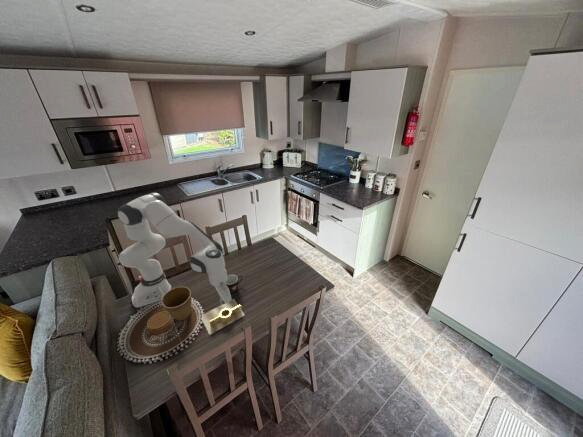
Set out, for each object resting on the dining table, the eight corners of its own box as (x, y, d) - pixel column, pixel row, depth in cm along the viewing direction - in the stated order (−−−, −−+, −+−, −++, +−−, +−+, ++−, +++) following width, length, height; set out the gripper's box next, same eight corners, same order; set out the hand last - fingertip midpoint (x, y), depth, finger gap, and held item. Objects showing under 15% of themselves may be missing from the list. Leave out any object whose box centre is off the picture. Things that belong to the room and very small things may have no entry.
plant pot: (187, 301, 148) (182, 282, 140) (201, 314, 139) (195, 295, 131) (164, 317, 138) (156, 298, 130) (177, 332, 129) (169, 312, 121)
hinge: (213, 331, 129) (211, 325, 126) (208, 323, 133) (207, 317, 130) (243, 314, 138) (242, 308, 136) (238, 307, 143) (238, 301, 140)
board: (209, 336, 127) (209, 335, 127) (200, 317, 138) (200, 315, 137) (245, 316, 138) (244, 315, 138) (234, 299, 149) (233, 298, 148)
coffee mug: (226, 297, 151) (224, 285, 146) (225, 287, 158) (223, 276, 153) (244, 293, 153) (243, 281, 148) (243, 283, 161) (241, 272, 156)
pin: (221, 305, 127) (219, 294, 123) (219, 301, 129) (217, 291, 125) (227, 302, 129) (225, 292, 125) (225, 299, 131) (223, 288, 127)
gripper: (232, 286, 114) (236, 306, 121) (216, 264, 128) (220, 283, 135) (220, 292, 111) (224, 312, 118) (205, 269, 125) (209, 288, 132)
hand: (222, 296), depth 127 cm, fingers closed on pin, 3 cm apart
